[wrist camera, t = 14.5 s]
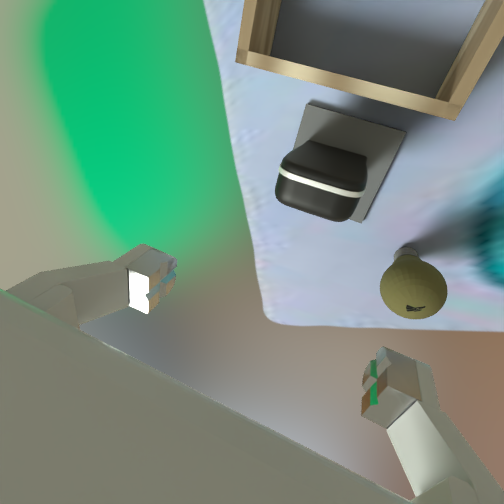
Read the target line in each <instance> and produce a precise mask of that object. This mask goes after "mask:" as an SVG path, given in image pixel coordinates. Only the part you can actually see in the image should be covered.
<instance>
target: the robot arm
mask: <svg viewBox="0 0 504 504" xmlns="http://www.w3.org/2000/svg"><path fill="white" fill-rule="evenodd" d="M176 266H177V259H176V258H175V257H173V256H171V255H168V254H166V253H164V252H162V251H159V250H157V249H155V248H152V247H150V246H148V245H146V244H140V245H138V246H137V247H135V248H133V249H132V250H130V251H129V252H127V253H126V254H124V255H123V256H121V257H119V258H118V259H116V260H115V261H114V262H111V261H105V262H99V263H93V264H87V265H81V266H75V267H69V268H63V269H57V270H51V271H45V272H40V273H38V274H36V275H34V276H32V277H30V278H28V279H26V280H25V281H23V282H21V283H19V284H17V285H16V286H14V287H12V288H10V289H8V290H6V291H4V290H2V289H0V504H504V491H503V489H502V488H501V487H500V485H499V484H498V483H497V481H496V480H495V479H494V477H493V476H492V475H491V473H490V472H489V471H488V469H487V468H486V466H485V465H484V464H483V462H482V461H481V460H480V458H479V457H478V456H477V454H476V453H475V452H474V450H473V449H472V448H471V446H470V445H469V444H468V442H467V441H466V440H465V438H464V437H463V436H462V434H461V433H460V432H459V430H458V429H457V428H456V426H455V425H454V424H453V422H452V421H451V419H450V418H449V417H448V415H447V414H446V413H445V412H442V411H441V410H440V405H439V401H438V396H437V392H436V387H435V383H434V379H433V374H432V369H431V367H430V366H429V365H427V364H425V363H422V362H420V361H418V360H415V359H412V358H410V357H407V356H405V355H403V354H400V353H398V352H395V351H393V350H390V349H388V348H386V347H381V348H380V349H379V350H378V352H377V353H376V359H375V360H371V361H370V362H369V364H368V365H367V367H366V370H365V372H364V375H363V383H362V386H363V388H364V390H365V392H366V393H365V395H364V396H363V397H362V410H361V416H362V417H364V418H367V419H368V420H370V421H372V422H375V423H376V424H378V425H380V426H382V427H384V428H386V429H387V433H388V435H389V437H390V439H391V442H392V444H393V446H394V448H395V450H396V453H397V455H398V457H399V460H400V462H401V464H402V466H403V469H404V471H405V473H406V475H407V478H408V480H409V482H410V484H411V486H412V489H413V491H414V493H415V495H416V498H414V499H412V500H411V501H409V500H407V499H405V498H403V497H401V496H399V495H397V494H395V493H394V492H391V491H390V490H388V489H386V488H384V487H382V486H380V485H378V484H376V483H374V482H372V481H370V480H369V479H366V478H365V477H363V476H361V475H359V474H357V473H355V472H353V471H351V470H349V469H347V468H345V467H343V466H342V465H339V464H338V463H336V462H334V461H332V460H330V459H328V458H326V457H324V456H322V455H320V454H318V453H316V452H314V451H312V450H311V449H309V448H307V447H305V446H303V445H301V444H299V443H297V442H295V441H293V440H291V439H289V438H287V437H285V436H284V435H282V434H280V433H278V432H276V431H274V430H272V429H270V428H268V427H266V426H264V425H262V424H260V423H258V422H256V421H255V420H253V419H250V418H248V417H247V416H245V415H243V414H241V413H239V412H237V411H235V410H233V409H231V408H229V407H227V406H226V405H224V404H222V403H220V402H218V401H216V400H214V399H212V398H210V397H208V396H206V395H204V394H202V393H201V392H199V391H197V390H195V389H193V388H191V387H189V386H187V385H185V384H183V383H181V382H179V381H177V380H176V379H174V378H172V377H170V376H168V375H166V374H164V373H162V372H160V371H158V370H156V369H154V368H152V367H151V366H148V365H146V364H145V363H143V362H141V361H139V360H137V359H135V358H133V357H131V356H129V355H127V354H125V353H123V352H122V351H120V350H118V349H116V348H114V347H112V346H110V345H108V344H106V343H104V342H102V341H100V340H98V339H97V338H95V337H93V336H91V335H89V334H87V333H85V332H83V331H81V330H80V327H79V325H80V324H83V323H86V322H89V321H91V320H94V319H97V318H99V317H102V316H105V315H107V314H110V313H112V312H115V311H118V310H120V309H123V308H126V307H128V306H129V305H130V306H132V307H134V308H136V309H139V310H141V311H143V312H145V313H149V312H150V311H151V310H152V309H153V308H154V307H155V306H156V305H157V304H158V303H159V298H160V297H164V296H166V295H167V294H168V293H169V292H170V291H171V289H172V288H173V286H174V283H175V280H176V274H175V272H174V270H173V269H174V268H176Z"/></svg>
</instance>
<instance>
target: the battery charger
mask: <svg viewBox="0 0 504 504" xmlns="http://www.w3.org/2000/svg"><path fill="white" fill-rule="evenodd" d="M366 163H367V157H366V156H364V155H360V154H357V153H353V152H350V151H346V150H343V149H339V148H336V147H332V146H329V145H325V144H322V143H318V142H315V141H311V140H307V141H306V142H305V143H304V144H302V145H301V146H299V147H297V148H295V149H294V150H292V151H291V152H289V153H288V154H287V155H286V156H285V157H284V158H283V160H282V163H281V164H280V167H279V175H278V179H277V183H276V187H275V195H276V198H277V199H278V201H279V202H281V203H282V204H284V205H286V206H289V207H292V208H295V209H298V210H301V211H304V212H306V213H309V214H312V215H316V216H319V217H322V218H325V219H328V220H331V221H335V222H342V221H345V220H348V219H349V218H350V217H351V216H352V214H353V213H354V211H355V209H356V207H357V205H358V203H359V200H360V198H361V196H363V194H364V192H365V190H366V185H367V179H368V172H367V165H366Z"/></svg>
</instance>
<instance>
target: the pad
mask: <svg viewBox="0 0 504 504" xmlns="http://www.w3.org/2000/svg"><path fill="white" fill-rule="evenodd" d="M405 134H406V132H405V131H401V130H398V129H394V128H391V127H387V126H384V125H380V124H377V123H373V122H369V121H366V120H362V119H359V118H355V117H352V116H348V115H345V114H341V113H338V112H334V111H331V110H327V109H324V108H320V107H316V106H313V105H309V104H306V107H305V110H304V114H303V117H302V121H301V124H300V127H299V131H298V134H297V138H296V141H295V145H294V148H293V150H294V149H295V148H297V147H299V146H301V145H302V144H304V143H305V142H306V141H307V140H311V141H315V142H318V143H322V144H325V145H329V146H332V147H336V148H339V149H343V150H346V151H350V152H353V153H357V154H360V155H364V156H366V157H367V163H366V165H367V172H368V179H367V185H366V190H365V192H364V194H363V196H361V198H360V200H359V203H358V205H357V207H356V209H355V211H354V213H353V214H352V216H351V217H350V218H349V219H350V220H353V221H356V222H359V223H362V221H363V219H364V217H365V215H366V213H367V211H368V209H369V207H370V205H371V203H372V201H373V199H374V197H375V195H376V193H377V191H378V189H379V187H380V185H381V183H382V181H383V178H384V176H385V174H386V172H387V170H388V168H389V166H390V164H391V162H392V160H393V158H394V156H395V154H396V152H397V150H398V148H399V146H400V144H401V142H402V140H403V138H404V136H405Z"/></svg>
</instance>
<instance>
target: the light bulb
mask: <svg viewBox="0 0 504 504" xmlns="http://www.w3.org/2000/svg"><path fill="white" fill-rule="evenodd" d="M380 293H381V296H382V299H383V301H384V303H385V304H386V305H387V307H388V308H389V309H390V310H391V311H393V312H394V313H396V314H397V315H399V316H402V317H404V318H408V319H424V318H427V317H430V316H432V315H434V314H435V313H437V312H438V311H439V310H440V309H441V308H442V307H443V305H444V303H445V301H446V298H447V285H446V282H445V279H444V277H443V276H442V274H441V273H440V272H439V271H438V270H437V269H436V268H435V267H434V266H432V265H430V264H429V263H427V262H424V261H422V260H421V259H419V257H418V254H417V252H416V251H415V250H414V249H412V248H409V247H403V248H400V249H398V250H397V251H396V252H395V254H394V262H393V264H392V265H391V266H390V267H389V268H388V269H387V270H386V271H385V273H384V274H383V276H382V279H381V282H380Z"/></svg>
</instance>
